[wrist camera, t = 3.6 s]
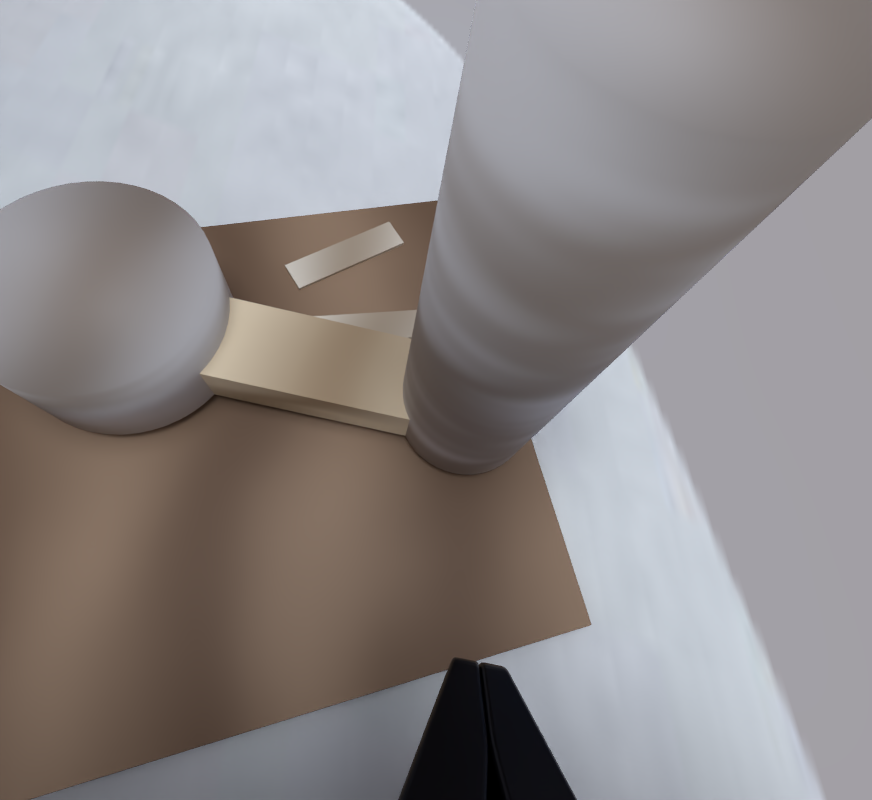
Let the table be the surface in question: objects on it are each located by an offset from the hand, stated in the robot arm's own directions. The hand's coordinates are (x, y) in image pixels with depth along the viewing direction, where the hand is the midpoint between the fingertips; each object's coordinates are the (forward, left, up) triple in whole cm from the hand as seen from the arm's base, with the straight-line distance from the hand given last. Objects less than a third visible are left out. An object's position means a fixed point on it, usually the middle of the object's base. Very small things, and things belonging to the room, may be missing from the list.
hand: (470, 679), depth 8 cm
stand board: (-4, +7, -7) cm, 10 cm away
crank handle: (-2, +8, -6) cm, 11 cm away
